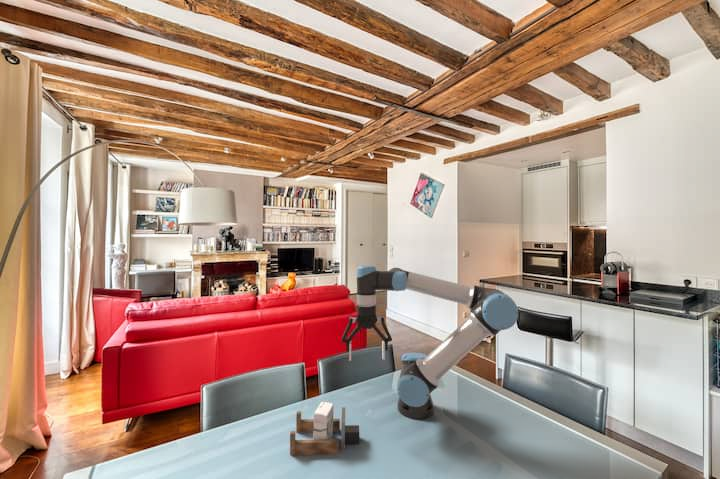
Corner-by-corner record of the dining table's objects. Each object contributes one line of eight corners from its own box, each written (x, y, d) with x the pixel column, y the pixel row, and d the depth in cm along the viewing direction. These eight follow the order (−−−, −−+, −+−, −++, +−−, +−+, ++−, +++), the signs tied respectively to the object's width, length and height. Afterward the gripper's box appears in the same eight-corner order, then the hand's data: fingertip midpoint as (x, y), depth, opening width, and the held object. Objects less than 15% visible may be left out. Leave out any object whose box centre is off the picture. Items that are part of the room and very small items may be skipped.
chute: (339, 429, 115) (339, 410, 115) (338, 454, 102) (338, 433, 102) (297, 430, 115) (297, 411, 115) (289, 455, 101) (290, 433, 101)
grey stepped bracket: (358, 431, 114) (358, 407, 114) (359, 449, 104) (359, 422, 104) (342, 431, 113) (342, 407, 113) (341, 449, 104) (341, 422, 104)
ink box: (326, 450, 104) (326, 415, 104) (312, 448, 105) (312, 413, 105) (333, 434, 112) (334, 402, 112) (320, 433, 113) (320, 400, 113)
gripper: (396, 302, 125) (396, 354, 125) (335, 303, 124) (336, 356, 124) (399, 306, 118) (399, 362, 118) (334, 307, 117) (335, 363, 117)
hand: (366, 359), depth 121 cm, fingers open, 12 cm apart
